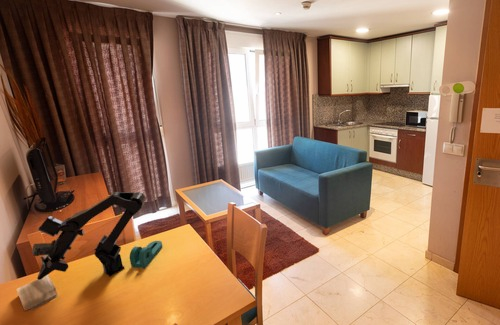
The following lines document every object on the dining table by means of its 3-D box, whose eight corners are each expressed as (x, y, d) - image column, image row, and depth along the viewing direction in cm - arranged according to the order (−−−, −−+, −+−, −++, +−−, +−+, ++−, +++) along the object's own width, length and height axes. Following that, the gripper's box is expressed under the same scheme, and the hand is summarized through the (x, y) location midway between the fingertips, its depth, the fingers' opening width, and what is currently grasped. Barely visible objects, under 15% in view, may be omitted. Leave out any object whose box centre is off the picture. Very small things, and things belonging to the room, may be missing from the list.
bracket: (145, 268, 113) (142, 253, 111) (131, 267, 114) (128, 252, 112) (165, 244, 130) (162, 231, 128) (152, 244, 131) (150, 230, 129)
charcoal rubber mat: (47, 280, 108) (47, 280, 108) (56, 296, 100) (56, 296, 99) (23, 292, 103) (23, 291, 103) (30, 310, 94) (30, 309, 94)
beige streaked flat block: (47, 274, 107) (16, 289, 100) (55, 287, 100) (22, 304, 93) (49, 280, 108) (18, 295, 101) (57, 294, 101) (24, 310, 93)
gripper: (38, 228, 105) (10, 265, 100) (50, 243, 93) (19, 286, 88) (65, 236, 113) (41, 270, 108) (79, 251, 101) (53, 291, 96)
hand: (38, 279), depth 100 cm, fingers closed
